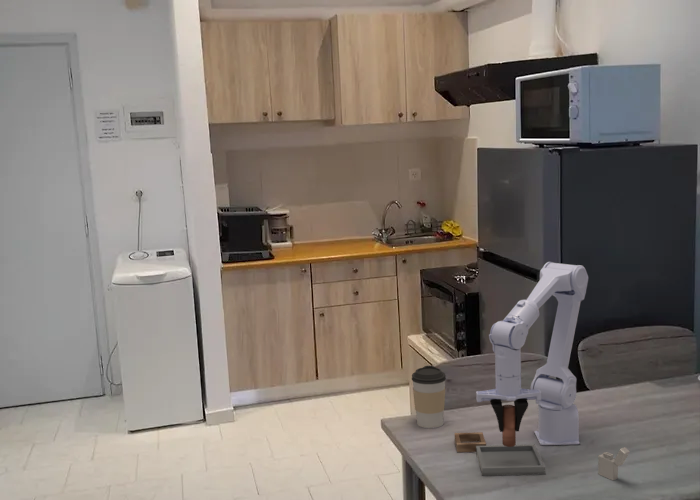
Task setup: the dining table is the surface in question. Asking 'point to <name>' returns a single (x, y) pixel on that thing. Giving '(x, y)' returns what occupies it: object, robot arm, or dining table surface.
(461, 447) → the collar
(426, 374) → the coffee cup
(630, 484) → the dining table surface
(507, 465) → the tray
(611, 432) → the dining table surface
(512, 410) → the dowel
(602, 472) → the lighter
